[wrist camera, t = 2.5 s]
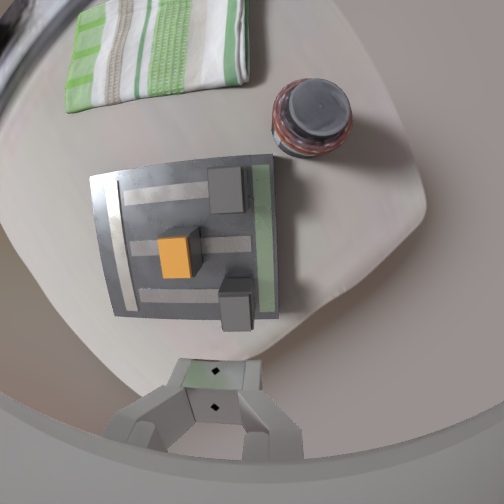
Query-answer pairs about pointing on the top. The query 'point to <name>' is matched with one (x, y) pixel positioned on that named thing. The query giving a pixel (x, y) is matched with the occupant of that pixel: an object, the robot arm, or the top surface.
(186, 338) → the top surface
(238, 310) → the block
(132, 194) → the panel
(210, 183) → the block
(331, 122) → the supplement bottle
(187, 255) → the breaker mid
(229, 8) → the dish towel
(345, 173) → the top surface
